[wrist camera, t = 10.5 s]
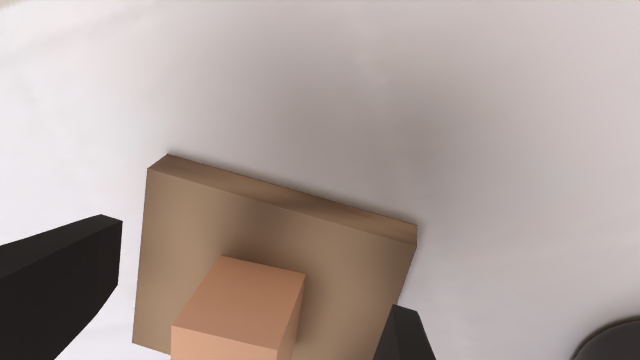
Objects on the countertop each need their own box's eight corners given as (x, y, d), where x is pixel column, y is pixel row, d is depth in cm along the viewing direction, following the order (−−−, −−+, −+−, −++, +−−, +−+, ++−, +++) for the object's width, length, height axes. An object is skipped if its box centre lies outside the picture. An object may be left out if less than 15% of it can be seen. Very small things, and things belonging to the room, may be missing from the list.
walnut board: (417, 219, 23) (416, 246, 21) (362, 378, 27) (357, 414, 25) (172, 150, 24) (147, 168, 22) (155, 312, 28) (131, 342, 26)
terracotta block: (306, 273, 23) (277, 350, 18) (295, 343, 24) (267, 430, 20) (220, 255, 23) (171, 325, 18) (215, 325, 25) (169, 405, 20)
